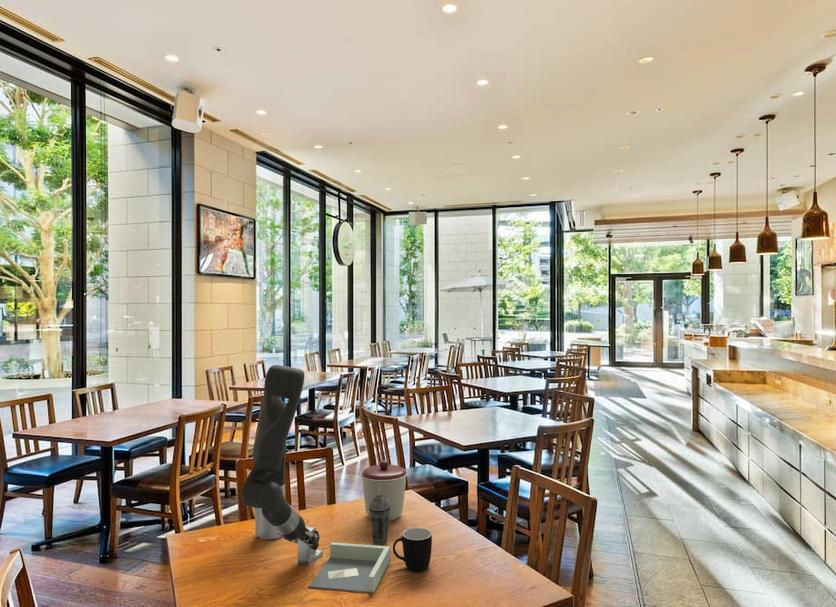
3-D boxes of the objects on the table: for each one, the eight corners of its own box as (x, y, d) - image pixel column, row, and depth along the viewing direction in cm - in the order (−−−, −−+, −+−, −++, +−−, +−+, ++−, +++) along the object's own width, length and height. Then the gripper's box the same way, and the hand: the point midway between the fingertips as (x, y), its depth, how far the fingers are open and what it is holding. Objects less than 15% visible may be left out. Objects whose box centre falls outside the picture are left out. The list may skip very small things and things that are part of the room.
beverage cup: (392, 538, 179) (391, 479, 179) (389, 547, 172) (388, 486, 172) (371, 537, 180) (370, 478, 180) (367, 546, 172) (366, 485, 173)
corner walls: (308, 587, 147) (308, 571, 147) (331, 556, 166) (331, 542, 166) (374, 593, 143) (374, 576, 144) (390, 561, 162) (390, 546, 162)
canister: (403, 506, 209) (403, 452, 209) (412, 523, 191) (412, 465, 191) (358, 510, 205) (357, 456, 205) (363, 528, 187) (362, 469, 188)
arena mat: (308, 587, 147) (308, 585, 147) (331, 556, 166) (331, 555, 166) (374, 593, 143) (374, 591, 143) (390, 561, 162) (390, 559, 162)
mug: (434, 561, 162) (433, 528, 162) (430, 575, 153) (429, 540, 153) (395, 558, 164) (395, 526, 164) (390, 573, 155) (389, 538, 155)
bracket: (308, 565, 160) (308, 532, 160) (297, 563, 161) (297, 530, 161) (322, 554, 167) (322, 522, 167) (312, 552, 169) (311, 521, 169)
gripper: (312, 512, 153) (334, 537, 164) (272, 506, 158) (296, 530, 169) (302, 537, 148) (325, 562, 159) (261, 530, 153) (286, 554, 164)
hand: (310, 545), depth 164 cm, fingers closed on bracket, 4 cm apart
